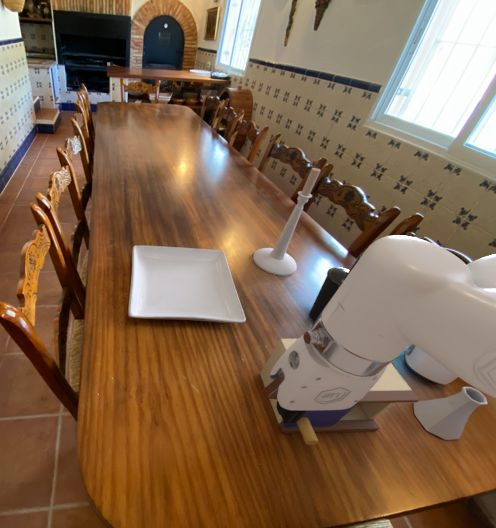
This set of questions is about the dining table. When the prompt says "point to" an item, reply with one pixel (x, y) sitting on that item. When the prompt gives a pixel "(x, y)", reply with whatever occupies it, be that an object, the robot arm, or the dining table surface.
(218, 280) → the square plate
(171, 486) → the dining table surface
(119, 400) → the dining table surface
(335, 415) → the sliding door
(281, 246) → the candlestick
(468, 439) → the dining table surface
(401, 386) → the box with blue drawer
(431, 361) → the spread jar
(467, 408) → the flask
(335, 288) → the drinking cup
